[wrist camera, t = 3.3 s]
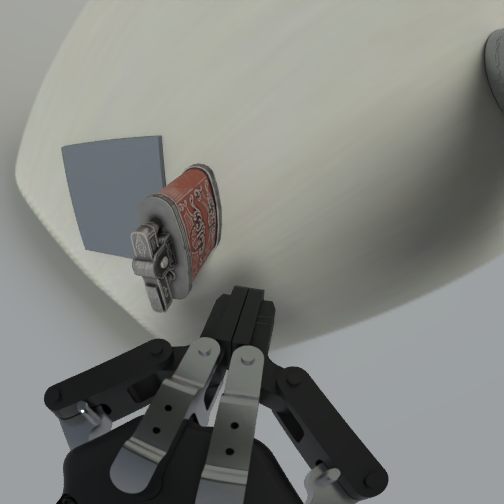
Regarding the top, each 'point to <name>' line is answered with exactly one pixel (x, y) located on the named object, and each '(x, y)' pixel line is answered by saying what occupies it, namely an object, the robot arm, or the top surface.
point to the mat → (112, 188)
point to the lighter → (176, 234)
